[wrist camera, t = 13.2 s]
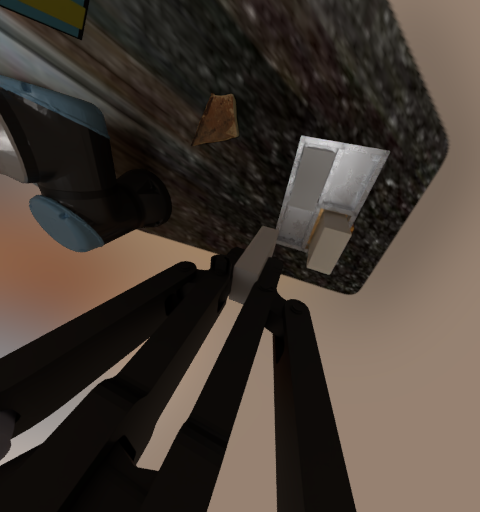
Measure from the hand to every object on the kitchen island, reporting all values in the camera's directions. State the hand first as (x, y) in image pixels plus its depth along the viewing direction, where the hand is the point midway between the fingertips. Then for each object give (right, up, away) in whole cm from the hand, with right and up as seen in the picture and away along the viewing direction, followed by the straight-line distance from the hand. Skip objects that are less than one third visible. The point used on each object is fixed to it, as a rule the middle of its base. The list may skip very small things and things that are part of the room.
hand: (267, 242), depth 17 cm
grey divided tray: (+14, +10, +21) cm, 27 cm away
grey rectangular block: (+11, +14, +19) cm, 26 cm away
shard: (-6, +24, +22) cm, 33 cm away
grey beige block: (+15, +4, +23) cm, 28 cm away
